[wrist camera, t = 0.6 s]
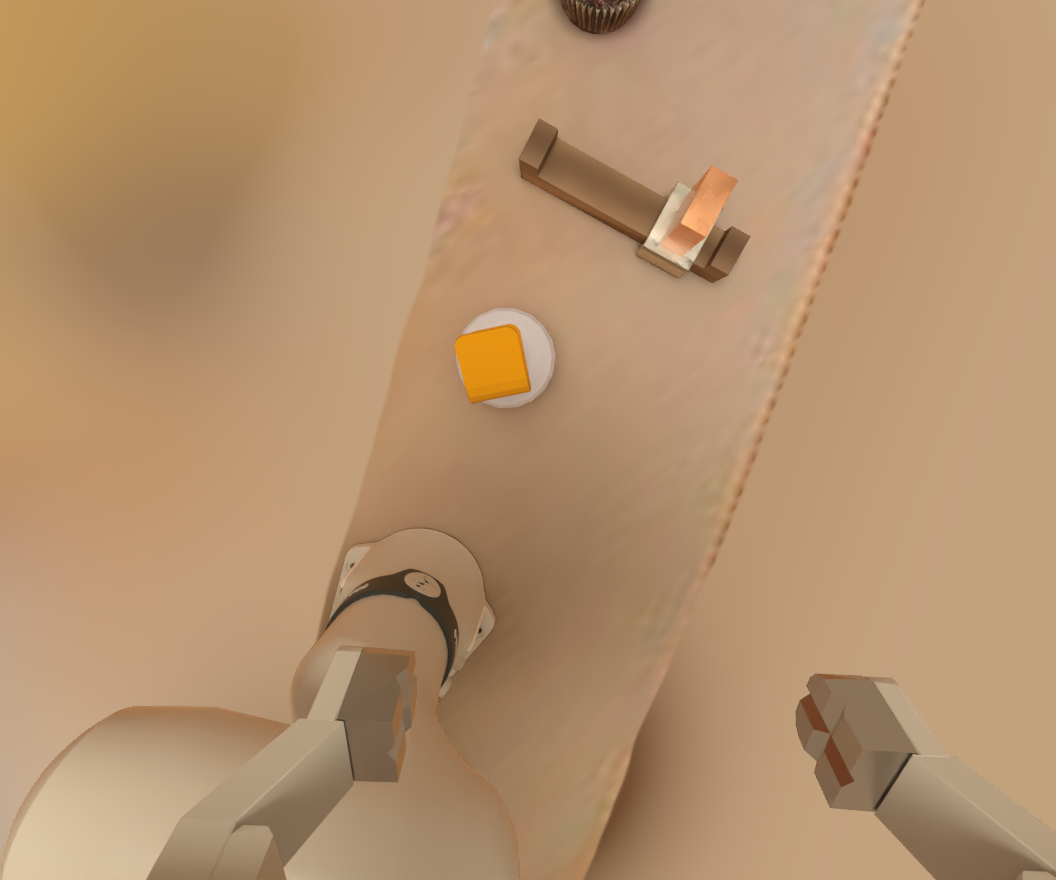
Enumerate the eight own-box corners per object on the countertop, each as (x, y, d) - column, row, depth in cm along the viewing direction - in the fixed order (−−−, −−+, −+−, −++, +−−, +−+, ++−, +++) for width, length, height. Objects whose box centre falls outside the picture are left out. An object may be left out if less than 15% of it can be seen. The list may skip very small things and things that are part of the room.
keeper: (677, 277, 56) (714, 253, 44) (636, 254, 56) (661, 224, 44) (710, 219, 55) (757, 178, 43) (667, 195, 55) (703, 148, 43)
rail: (712, 282, 56) (728, 274, 51) (521, 177, 55) (518, 158, 50) (732, 247, 56) (750, 236, 51) (539, 140, 55) (538, 118, 50)
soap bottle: (543, 308, 57) (544, 268, 33) (560, 392, 58) (572, 413, 34) (462, 325, 58) (403, 298, 33) (480, 408, 59) (435, 439, 34)
